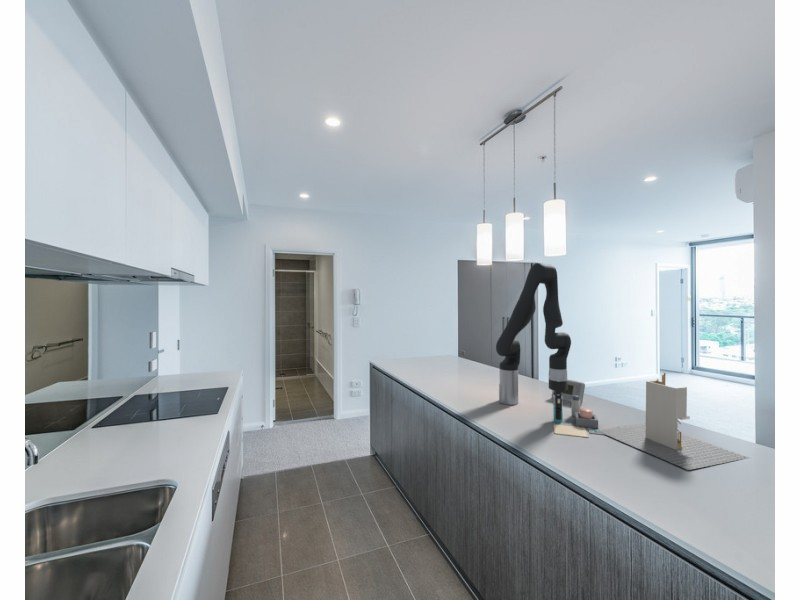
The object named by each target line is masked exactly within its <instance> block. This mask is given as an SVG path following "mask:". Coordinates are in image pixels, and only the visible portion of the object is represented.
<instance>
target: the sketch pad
mask: <svg viewBox="0 0 800 600" xmlns="http://www.w3.org/2000/svg"><path fill="white" fill-rule="evenodd" d="M553 431H554V432H553V433H554V434H556V435H561V436H572V437H578V438H579V437H581V438H589V435H588V432H587V428H585V427H577V426H572V425H571V426H570V425H561V424H553Z"/></svg>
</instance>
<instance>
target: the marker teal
mask: <svg viewBox="0 0 800 600" xmlns="http://www.w3.org/2000/svg"><path fill="white" fill-rule="evenodd" d="M555 403H556V401H555ZM552 407H553V423H557V424H562V423H563V422H564V421H563V410H562V411H561V420H557V419H556V418H555V405H554V403H553V406H552ZM557 408H560V407H558V406H557Z"/></svg>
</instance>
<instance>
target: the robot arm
mask: <svg viewBox="0 0 800 600" xmlns="http://www.w3.org/2000/svg"><path fill="white" fill-rule="evenodd" d="M558 281H559V280H558V272H557V268H556V267H555V266H554V265H553V264H549V263H543V262H542V263H541V262H535V263H534V264H533V265H532V266H530V269H529V271H528V273H527V276H526V278H525V282H524V285H523V288H522V291H521V293H520V296H519V297H518V300H517V302H516V304H515V305H514V308H513V310H512V312H511V315H510V318H509V320H508V322H507V324H506V326H505V328H504V329H503V331H502V333H501V334H500V336H499V338H498V340H497V341H496V345H495V351H496V354H497V355H499V356H500V357H504V359H503V360H502V361H500V363H499V384H498V403H499V404H503V405H507V406H508V405H510V406H511V405H512V406H513V405H517V404H519V367H520V363H521V344H520V341H519V340H518V338H516V337H517V336H518V335H519V334H520V332H521V331H523V330H524V329H525V328H526V326H528V324H529V323H530V322H531V320H532V318H533V316H534V315H535V312H536V307H537V306H536V298H535V297H536V296H535V295H536V292H537V291H538V290H537V289H538V287H539V286H540V284H543V285H544V288H545V290H546V293H545V300H544V303H543V307H542V313H543V317H544V323H545V329H544V330H545V331H544V343H545V345H546V347H547V348H548V349H549V350H557V351H556V352H555V353H552V354H550V355H549V358H548V365H549V366H548V389H549V390H551V391H553V390H555V391H554V393H553V398H552V399H553V404H554V405H555V418H556V419H557V420H561V411H562V412H563V402H564V401H563V393H561V391H566V390H567V380H568V368H567V367H568V366H567V365H568V364H567V362H568V361H567V360H568V356H569V353H570V350H571V345H572V339H571V336H570V334H569V333H567V332H556V329H558V328H561V327H562V326H563V324H564V323H563V319H562V318H563V317H562V313H561V309H560V303H559V285H558ZM555 401H556V403H555ZM557 406H558V407H560V408H557Z"/></svg>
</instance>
